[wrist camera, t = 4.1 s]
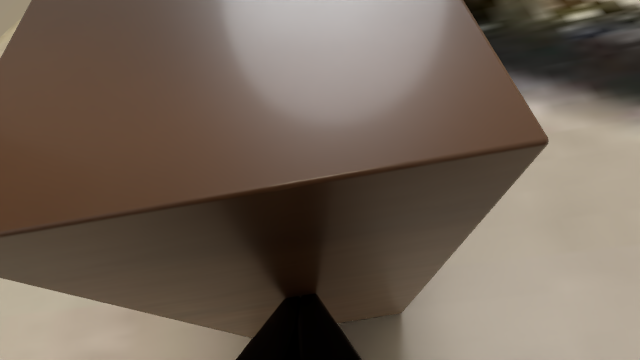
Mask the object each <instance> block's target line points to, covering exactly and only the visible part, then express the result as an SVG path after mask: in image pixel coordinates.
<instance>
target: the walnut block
mask: <svg viewBox="0 0 640 360" xmlns="http://www.w3.org/2000/svg"><path fill="white" fill-rule="evenodd" d="M547 144H548V137H547V136H546V134H545V132H544V131H543V129H542V128H541V126H540V124H539V123H538V121H537V119H536V118H535V116H534V115H533V113H532V111H531V110H530V108H529V106H528V105H527V103H526V102H525V100H524V98H523V97H522V95H521V93H520V92H519V90H518V89H517V87H516V85H515V84H514V82H513V80H512V79H511V77H510V76H509V74H508V72H507V71H506V69H505V67H504V66H503V64H502V63H501V61H500V59H499V58H498V56H497V54H496V53H495V51H494V50H493V48H492V46H491V45H490V43H489V42H488V40H487V38H486V37H485V35H484V33H483V32H482V30H481V29H480V27H479V25H478V24H477V22H476V20H475V19H474V17H473V16H472V14H471V12H470V11H469V9H468V7H467V6H466V4H465V3H464V1H463V0H32V1H31V3H30V4H29V6H28V8H27V10H26V12H25V14H24V15H23V17H22V19H21V21H20V23H19V25H18V27H17V28H16V30H15V32H14V34H13V36H12V38H11V40H10V42H9V43H8V45H7V47H6V49H5V51H4V53H3V55H2V56H1V58H0V278H3V279H7V280H12V281H16V282H20V283H24V284H28V285H33V286H37V287H41V288H45V289H49V290H53V291H58V292H62V293H66V294H70V295H74V296H79V297H83V298H87V299H91V300H95V301H99V302H104V303H108V304H112V305H116V306H120V307H124V308H129V309H133V310H137V311H141V312H145V313H150V314H154V315H158V316H162V317H166V318H170V319H175V320H179V321H183V322H187V323H191V324H196V325H200V326H204V327H208V328H212V329H216V330H221V331H225V332H229V333H233V334H237V335H242V336H246V337H254V336H255V335H256V334H257V332H258V331H259V330H260V329H261V327H262V326H263V325H264V324H265V322H266V321H267V320H268V319H269V317H270V316H271V315H272V314H273V312H274V311H275V310H276V308H277V307H278V306H279V305H280V303H281V302H282V301H283V300H284V299H285V298H289V297H295V296H300V298H301V296H302V295H307V294H314V293H316V294H317V295H318V296H319V298H320V299H321V301H322V302H323V304H324V305H325V307H326V308H327V310H328V311H329V313H330V314H331V315H332V317H333V318H334V320H335V321H336V323H344V322H350V321H356V320H362V319H369V318H375V317H381V316H387V315H393V314H400V313H402V312H403V311H404V310H405V308H406V307H407V306H408V305H409V304H410V303H411V301H412V300H413V299H414V298H415V297H416V296H417V295H418V293H419V292H420V291H421V290H422V289H423V288H424V286H425V285H426V284H427V283H428V282H429V281H430V280H431V278H432V277H433V276H434V275H435V274H436V273H437V271H438V270H439V269H440V268H441V267H442V266H443V265H444V263H445V262H446V261H447V260H448V259H449V258H450V256H451V255H452V254H453V253H454V252H455V251H456V249H457V248H458V247H459V246H460V245H461V244H462V243H463V241H464V240H465V239H466V238H467V237H468V236H469V234H470V233H471V232H472V231H473V230H474V229H475V228H476V226H477V225H478V224H479V223H480V222H481V221H482V219H483V218H484V217H485V216H486V215H487V214H488V213H489V211H490V210H491V209H492V208H493V207H494V206H495V204H496V203H497V202H498V201H499V200H500V199H501V198H502V196H503V195H504V194H505V193H506V192H507V191H508V189H509V188H510V187H511V186H512V185H513V184H514V183H515V181H516V180H517V179H518V178H519V177H520V176H521V174H522V173H523V172H524V171H525V170H526V169H527V168H528V166H529V165H530V164H531V163H532V162H533V161H534V159H535V158H536V157H537V156H538V155H539V154H540V152H541V151H542V150H543V149H544V148H545V147H546V146H547Z"/></svg>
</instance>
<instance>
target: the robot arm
mask: <svg viewBox="0 0 640 360" xmlns="http://www.w3.org/2000/svg"><path fill="white" fill-rule="evenodd" d="M236 360H362V359H361V358H360V356H359V355H358V354H357V352H356V351H355V349H354V348H353V346H352V345H351V343H350V342H349V340H348V339H347V337H346V336H345V335H344V333H343V332H342V330H341V329H340V327H339V326H338V324H337V323H336V321H335V320H334V318H333V317H332V315H331V314H330V313H329V311H328V310H327V308H326V307H325V305H324V304H323V302H322V301H321V299H320V298H319V296H318V295H317V294H316V293H314V294H307V295H302V296H301V298H300V296H295V297H289V298H285V299H284V300H283V301H282V302H281V303H280V305H279V306H278V307H277V308H276V310H275V311H274V312H273V314H272V315H271V316H270V317H269V319H268V320H267V321H266V322H265V324H264V325H263V326H262V327H261V329H260V330H259V331H258V332H257V334H256V335H255V336H254V337H253V339H252V340H251V341H250V342H249V344H248V345H247V346H246V347H245V349H244V350H243V351H242V353H241V354H240V355H239V356H238V358H237V359H236Z"/></svg>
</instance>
